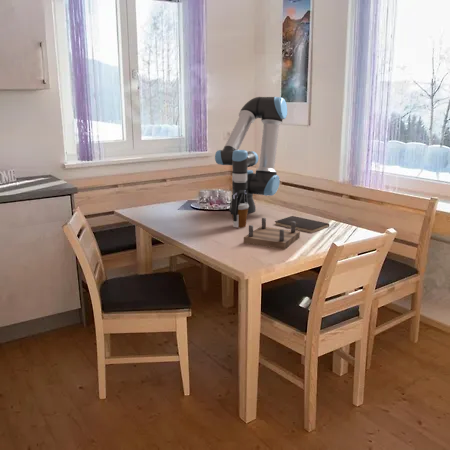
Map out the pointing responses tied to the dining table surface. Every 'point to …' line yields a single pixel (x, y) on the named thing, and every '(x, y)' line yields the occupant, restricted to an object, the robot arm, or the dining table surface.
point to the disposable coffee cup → (242, 214)
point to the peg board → (272, 236)
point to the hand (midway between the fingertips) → (239, 224)
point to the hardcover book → (302, 224)
